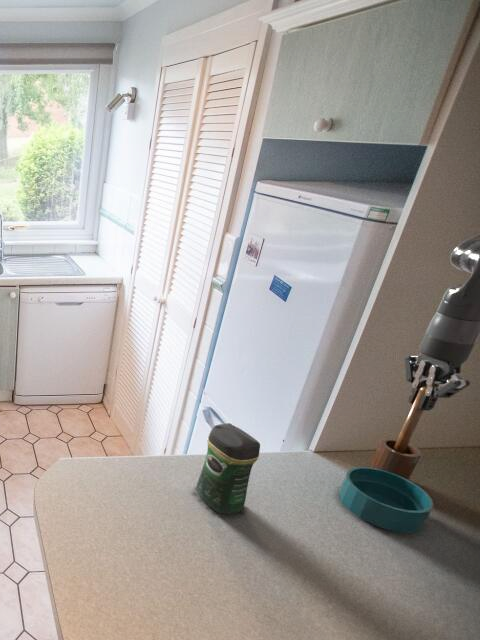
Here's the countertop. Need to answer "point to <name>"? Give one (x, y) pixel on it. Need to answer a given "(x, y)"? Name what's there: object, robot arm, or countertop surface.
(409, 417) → the stick
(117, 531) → the countertop surface
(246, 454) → the coffee jar
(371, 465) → the utensil pot
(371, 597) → the countertop surface
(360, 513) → the bowl
